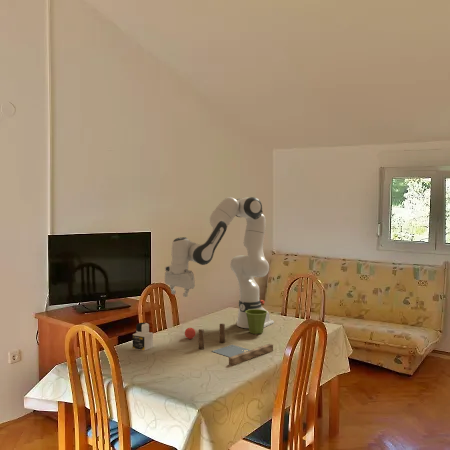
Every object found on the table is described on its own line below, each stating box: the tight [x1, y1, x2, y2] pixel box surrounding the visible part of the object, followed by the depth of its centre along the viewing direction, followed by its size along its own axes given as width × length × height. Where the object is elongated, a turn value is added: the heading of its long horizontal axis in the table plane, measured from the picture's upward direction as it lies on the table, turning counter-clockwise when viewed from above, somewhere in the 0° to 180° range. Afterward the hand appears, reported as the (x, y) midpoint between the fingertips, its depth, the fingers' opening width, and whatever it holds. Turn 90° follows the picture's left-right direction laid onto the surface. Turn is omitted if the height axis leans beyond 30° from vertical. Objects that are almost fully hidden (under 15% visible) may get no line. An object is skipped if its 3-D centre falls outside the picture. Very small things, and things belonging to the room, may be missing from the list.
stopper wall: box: [228, 343, 274, 366], centre depth 228 cm, size 28×2×3 cm, turn 136°
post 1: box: [198, 328, 205, 350], centre depth 241 cm, size 3×3×9 cm
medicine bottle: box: [132, 322, 154, 352], centre depth 242 cm, size 7×7×12 cm
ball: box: [184, 327, 197, 340], centre depth 257 cm, size 6×6×6 cm
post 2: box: [219, 323, 226, 344], centre depth 251 cm, size 3×3×9 cm
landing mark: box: [211, 344, 251, 358], centre depth 236 cm, size 14×14×1 cm
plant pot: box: [245, 309, 268, 335], centre depth 268 cm, size 12×12×11 cm
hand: (179, 295), depth 261 cm, fingers open, 8 cm apart
